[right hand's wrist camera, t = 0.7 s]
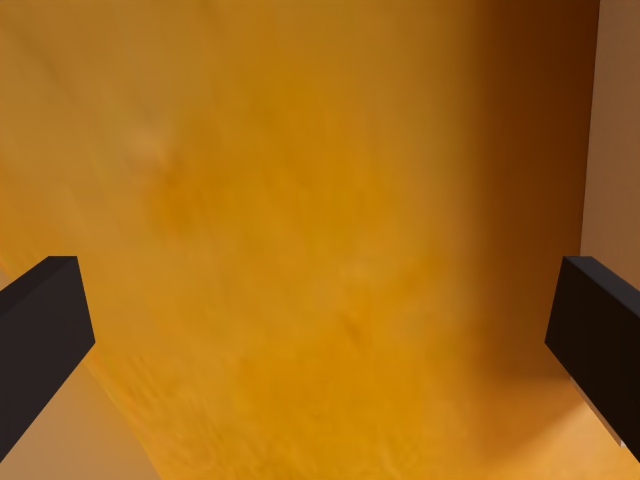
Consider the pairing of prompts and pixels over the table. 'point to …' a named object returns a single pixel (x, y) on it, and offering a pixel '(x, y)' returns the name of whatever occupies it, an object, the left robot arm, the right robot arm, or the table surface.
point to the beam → (614, 152)
